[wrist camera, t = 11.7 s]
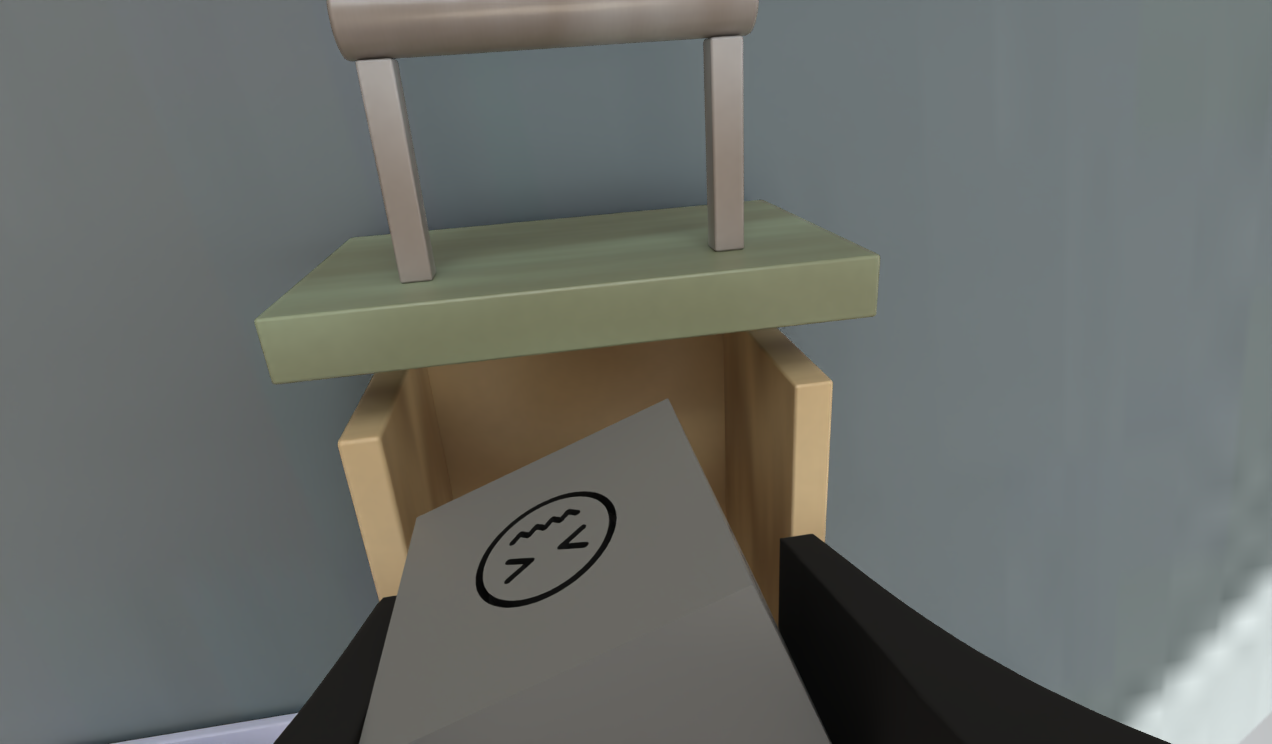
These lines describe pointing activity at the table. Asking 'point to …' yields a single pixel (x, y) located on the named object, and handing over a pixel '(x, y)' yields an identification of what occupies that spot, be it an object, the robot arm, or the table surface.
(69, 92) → the table surface
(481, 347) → the drawer
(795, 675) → the dice cube
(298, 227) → the table surface
